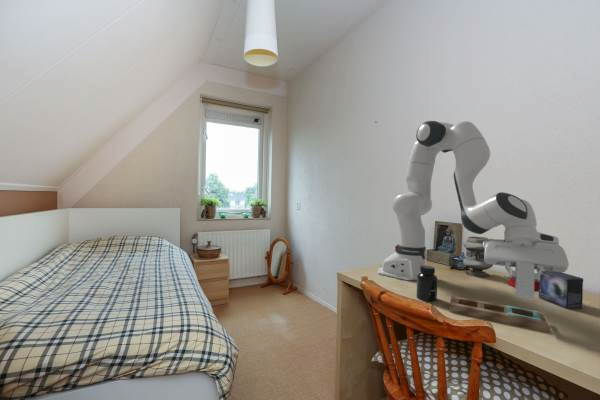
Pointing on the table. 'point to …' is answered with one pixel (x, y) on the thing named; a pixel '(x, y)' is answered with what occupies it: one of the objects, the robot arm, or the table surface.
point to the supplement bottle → (427, 284)
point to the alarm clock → (512, 283)
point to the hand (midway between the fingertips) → (524, 278)
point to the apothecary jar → (476, 256)
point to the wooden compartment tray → (499, 313)
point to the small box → (561, 289)
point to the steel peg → (524, 280)
